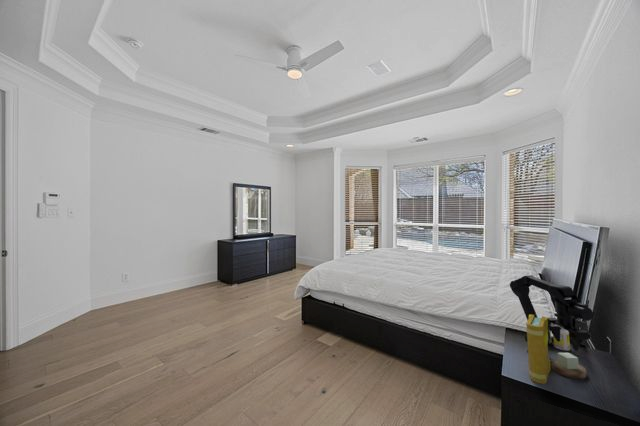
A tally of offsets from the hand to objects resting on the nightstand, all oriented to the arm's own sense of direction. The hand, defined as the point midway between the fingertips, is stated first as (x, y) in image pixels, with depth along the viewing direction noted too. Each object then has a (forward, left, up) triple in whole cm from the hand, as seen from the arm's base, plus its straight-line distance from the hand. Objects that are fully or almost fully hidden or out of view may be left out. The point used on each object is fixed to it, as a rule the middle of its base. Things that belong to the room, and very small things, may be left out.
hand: (566, 345), depth 124 cm
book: (-15, -2, -12) cm, 20 cm away
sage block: (0, 0, -10) cm, 10 cm away
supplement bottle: (+16, +22, -12) cm, 30 cm away
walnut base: (0, 0, -12) cm, 12 cm away
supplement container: (+11, +31, -12) cm, 35 cm away
